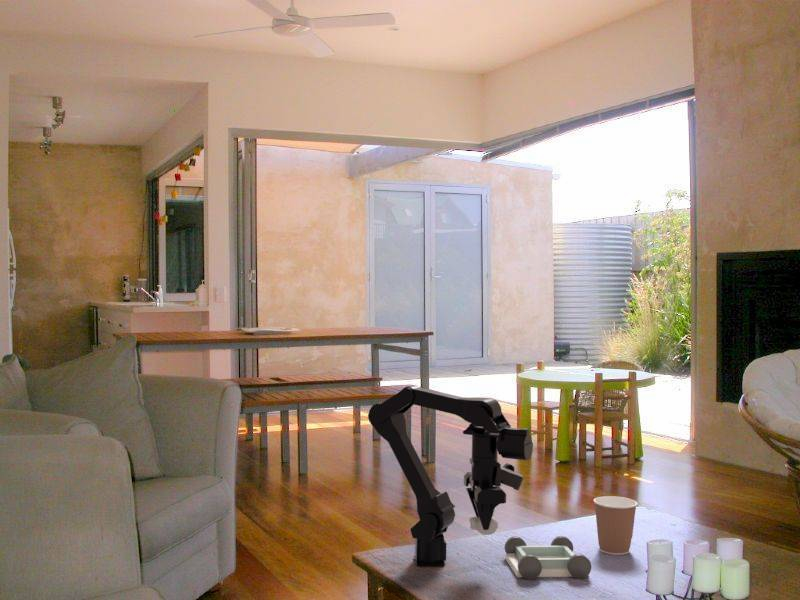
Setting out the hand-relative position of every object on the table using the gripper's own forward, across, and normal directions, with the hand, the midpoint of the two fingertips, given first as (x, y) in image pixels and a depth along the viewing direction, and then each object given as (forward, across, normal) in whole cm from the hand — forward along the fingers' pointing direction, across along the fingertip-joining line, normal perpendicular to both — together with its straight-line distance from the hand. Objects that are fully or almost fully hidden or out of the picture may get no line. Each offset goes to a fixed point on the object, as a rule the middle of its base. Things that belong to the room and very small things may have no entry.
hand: (483, 525), depth 189 cm
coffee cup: (+10, +14, -35) cm, 39 cm away
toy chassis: (+10, +2, -15) cm, 18 cm away
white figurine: (+2, 0, 0) cm, 2 cm away
